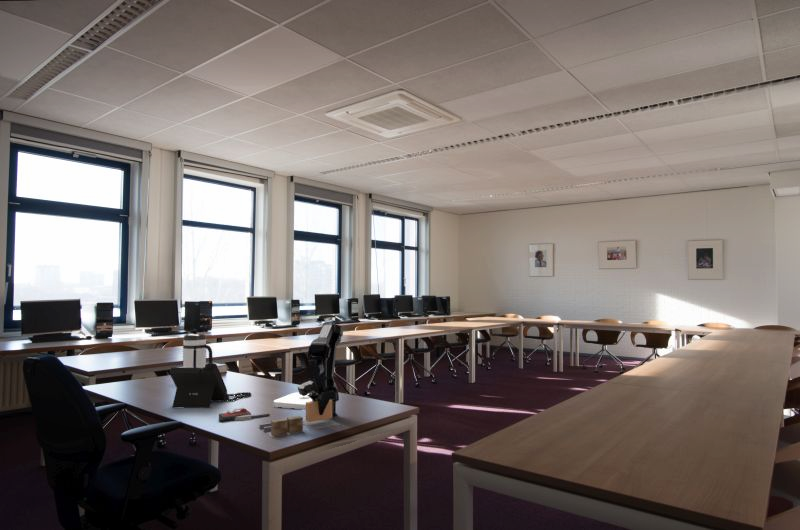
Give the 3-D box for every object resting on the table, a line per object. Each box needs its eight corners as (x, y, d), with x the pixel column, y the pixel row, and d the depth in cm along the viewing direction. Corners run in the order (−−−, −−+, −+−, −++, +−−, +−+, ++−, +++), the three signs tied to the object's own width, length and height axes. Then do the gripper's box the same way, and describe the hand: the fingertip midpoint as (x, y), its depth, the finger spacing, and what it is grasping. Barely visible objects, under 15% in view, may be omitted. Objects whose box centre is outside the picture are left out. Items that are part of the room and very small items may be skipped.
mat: (325, 418, 202) (325, 417, 202) (340, 425, 191) (340, 424, 191) (298, 423, 195) (298, 421, 195) (311, 431, 184) (311, 429, 184)
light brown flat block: (328, 416, 197) (328, 398, 197) (332, 418, 195) (332, 400, 195) (305, 420, 191) (305, 402, 192) (308, 422, 189) (308, 403, 189)
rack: (290, 423, 195) (290, 418, 195) (305, 432, 183) (305, 426, 183) (257, 428, 188) (258, 423, 188) (271, 438, 175) (271, 432, 175)
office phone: (254, 395, 248) (254, 355, 249) (231, 409, 219) (231, 363, 220) (197, 394, 250) (198, 354, 250) (167, 408, 221) (168, 363, 222)
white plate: (313, 411, 215) (313, 405, 215) (270, 407, 222) (270, 401, 222) (336, 400, 236) (336, 394, 236) (296, 397, 243) (296, 391, 243)
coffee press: (178, 384, 274) (179, 330, 275) (181, 379, 289) (182, 328, 290) (212, 382, 279) (212, 329, 281) (213, 377, 294) (213, 327, 296)
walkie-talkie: (220, 426, 193) (270, 418, 204) (220, 414, 193) (270, 407, 204) (215, 421, 200) (263, 414, 211) (215, 410, 201) (263, 403, 211)
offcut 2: (299, 429, 185) (299, 415, 185) (302, 431, 183) (302, 417, 183) (286, 431, 182) (286, 417, 182) (289, 433, 180) (289, 419, 180)
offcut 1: (284, 431, 182) (284, 418, 182) (287, 433, 179) (287, 420, 179) (271, 434, 179) (271, 420, 179) (274, 436, 176) (274, 422, 177)
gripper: (290, 372, 197) (290, 412, 196) (310, 380, 182) (310, 422, 181) (316, 370, 203) (316, 408, 203) (337, 376, 188) (337, 418, 187)
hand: (319, 414), depth 193 cm, fingers closed on light brown flat block, 3 cm apart
